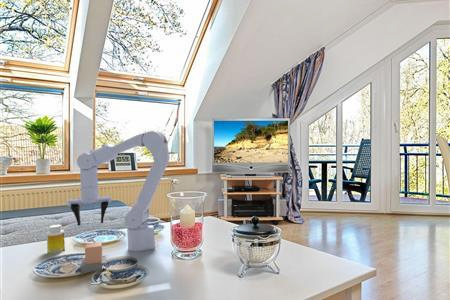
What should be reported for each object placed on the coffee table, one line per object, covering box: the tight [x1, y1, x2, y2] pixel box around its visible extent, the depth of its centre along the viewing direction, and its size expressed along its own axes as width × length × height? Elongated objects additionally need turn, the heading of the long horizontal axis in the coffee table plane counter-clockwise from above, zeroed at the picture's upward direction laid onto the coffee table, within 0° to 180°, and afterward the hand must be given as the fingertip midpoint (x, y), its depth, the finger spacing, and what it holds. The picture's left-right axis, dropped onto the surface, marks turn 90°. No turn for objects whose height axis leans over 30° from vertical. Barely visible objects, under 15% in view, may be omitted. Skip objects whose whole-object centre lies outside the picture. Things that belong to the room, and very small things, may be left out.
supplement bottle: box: [46, 224, 66, 254], centre depth 114 cm, size 6×6×10 cm
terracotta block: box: [84, 241, 103, 264], centre depth 98 cm, size 4×4×5 cm
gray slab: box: [80, 255, 107, 274], centre depth 98 cm, size 7×7×2 cm
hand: (90, 223), depth 115 cm, fingers open, 7 cm apart
